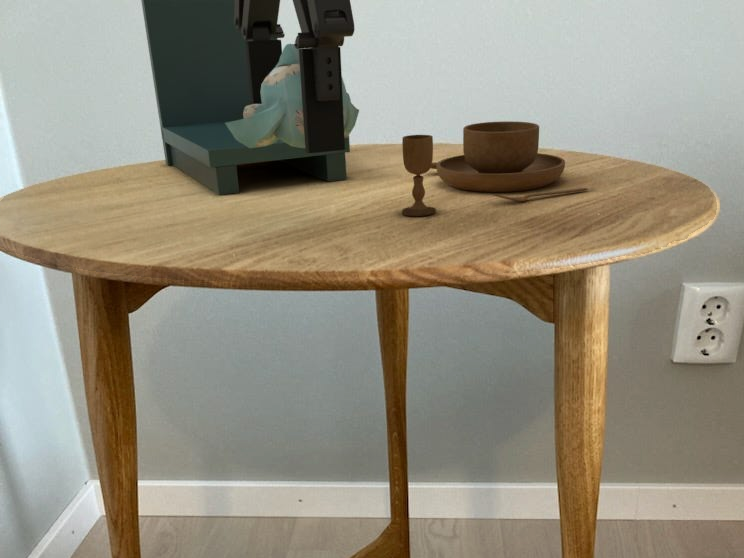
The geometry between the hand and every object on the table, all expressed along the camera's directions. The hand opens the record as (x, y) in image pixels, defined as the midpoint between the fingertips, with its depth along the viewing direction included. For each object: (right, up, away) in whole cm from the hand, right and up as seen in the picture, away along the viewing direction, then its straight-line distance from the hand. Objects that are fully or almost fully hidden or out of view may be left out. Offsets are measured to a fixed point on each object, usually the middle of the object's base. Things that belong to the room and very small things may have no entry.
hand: (296, 140), depth 70 cm
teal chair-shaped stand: (-7, +8, +27) cm, 29 cm away
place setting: (+14, +1, +15) cm, 21 cm away
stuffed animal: (0, 0, 0) cm, 0 cm away
